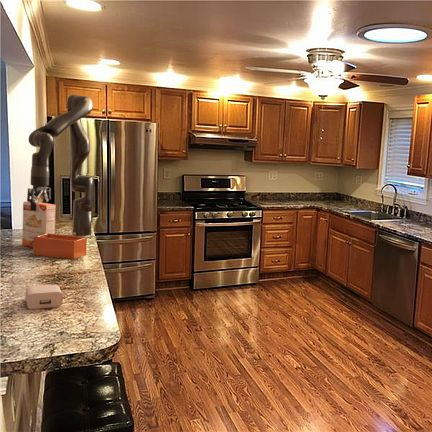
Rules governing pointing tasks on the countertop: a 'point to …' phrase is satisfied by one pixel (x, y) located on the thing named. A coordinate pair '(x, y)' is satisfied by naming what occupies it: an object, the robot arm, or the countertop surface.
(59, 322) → the countertop surface
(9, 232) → the countertop surface
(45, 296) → the charger
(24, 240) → the cracker box
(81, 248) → the holder
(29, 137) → the robot arm
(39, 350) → the countertop surface
